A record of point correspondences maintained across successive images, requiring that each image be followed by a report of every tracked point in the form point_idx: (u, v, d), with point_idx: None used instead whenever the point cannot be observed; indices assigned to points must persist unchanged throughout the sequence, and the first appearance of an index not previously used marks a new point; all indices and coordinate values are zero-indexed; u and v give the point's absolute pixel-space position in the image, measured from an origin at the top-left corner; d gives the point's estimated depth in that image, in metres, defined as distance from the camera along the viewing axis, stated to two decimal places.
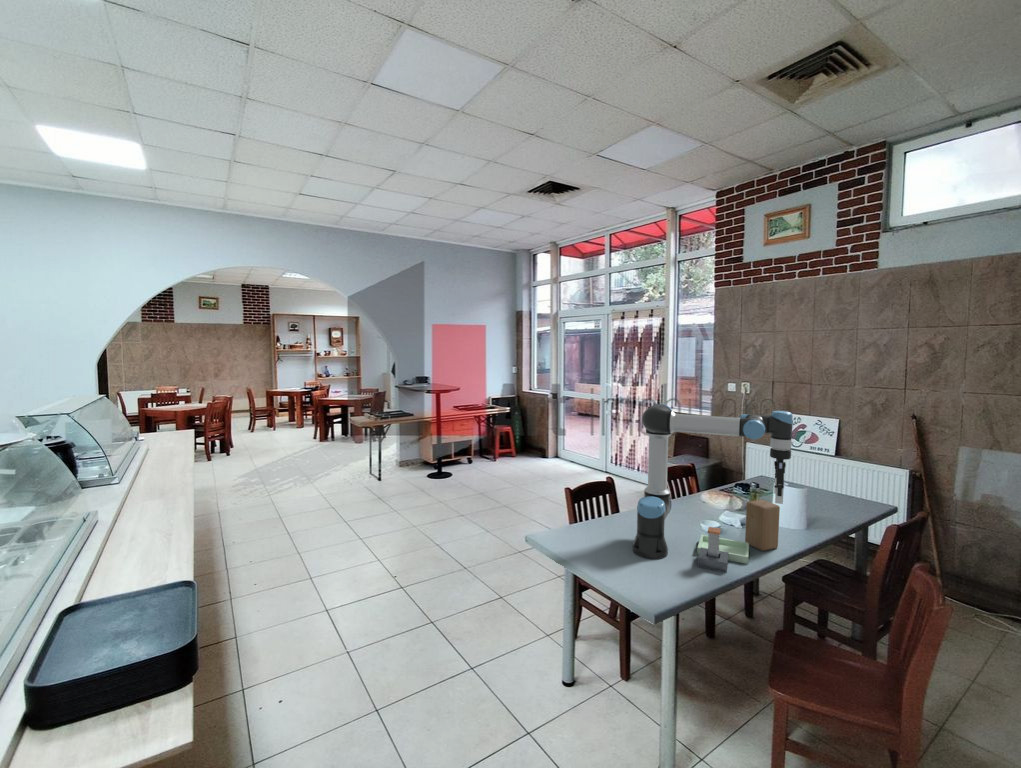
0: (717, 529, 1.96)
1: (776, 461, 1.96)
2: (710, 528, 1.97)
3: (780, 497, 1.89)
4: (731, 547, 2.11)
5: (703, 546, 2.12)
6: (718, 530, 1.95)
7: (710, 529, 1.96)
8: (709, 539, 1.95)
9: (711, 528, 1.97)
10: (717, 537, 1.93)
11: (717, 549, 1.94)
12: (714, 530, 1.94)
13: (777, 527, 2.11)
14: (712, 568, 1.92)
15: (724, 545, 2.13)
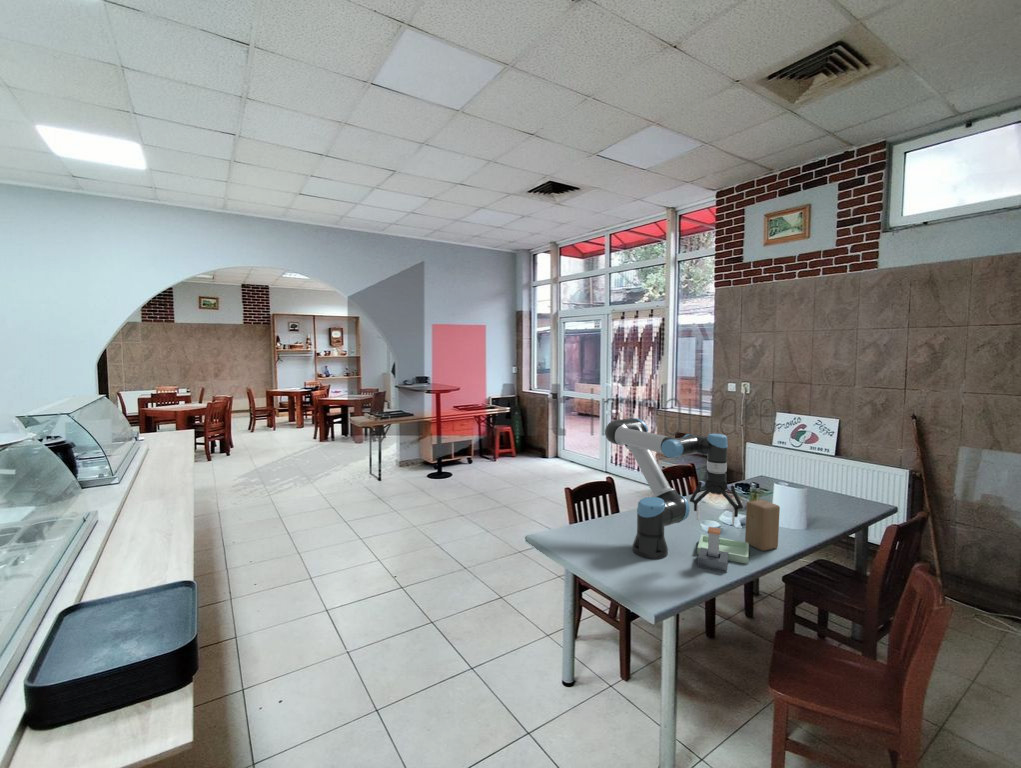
0: (717, 529, 1.96)
1: None
2: (710, 528, 1.97)
3: None
4: (731, 547, 2.11)
5: (703, 546, 2.12)
6: (718, 530, 1.95)
7: (710, 529, 1.96)
8: (709, 539, 1.95)
9: (711, 528, 1.97)
10: (717, 537, 1.93)
11: (717, 549, 1.94)
12: (714, 530, 1.94)
13: (777, 527, 2.11)
14: (712, 568, 1.92)
15: (724, 545, 2.13)
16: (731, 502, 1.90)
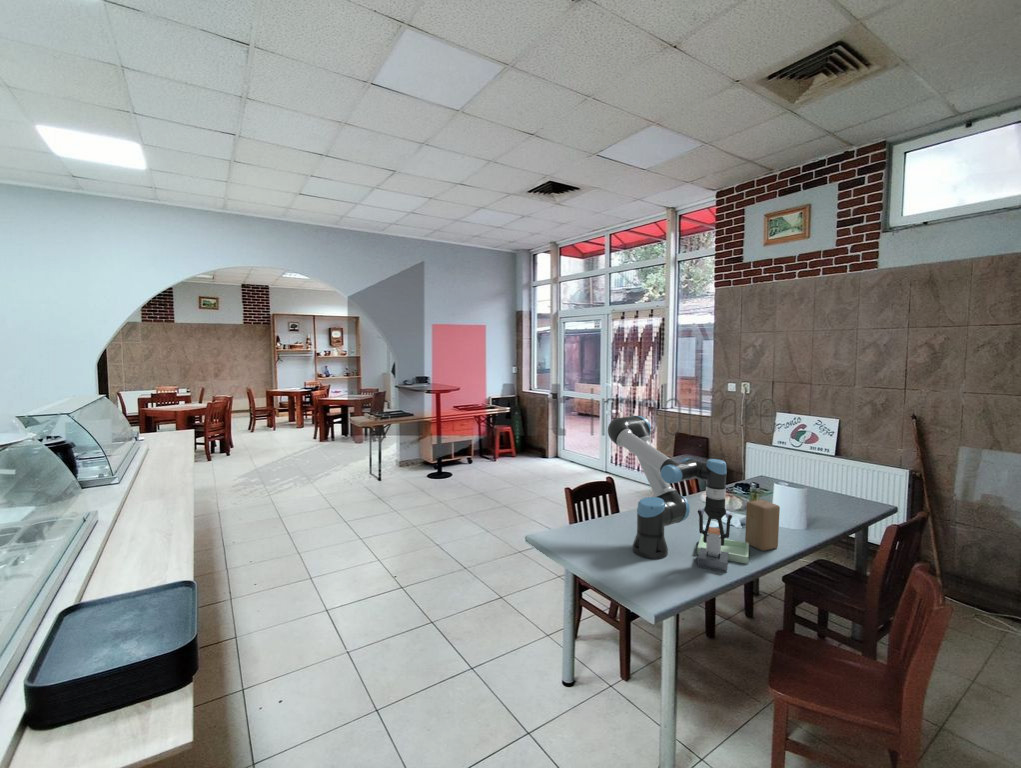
0: (717, 529, 1.96)
1: None
2: (710, 528, 1.97)
3: None
4: (731, 547, 2.11)
5: (703, 546, 2.12)
6: (718, 530, 1.95)
7: (710, 529, 1.96)
8: (709, 539, 1.95)
9: (711, 528, 1.97)
10: (717, 537, 1.93)
11: (717, 549, 1.94)
12: (714, 530, 1.94)
13: (777, 527, 2.11)
14: (712, 568, 1.92)
15: (724, 545, 2.13)
16: (721, 530, 1.93)
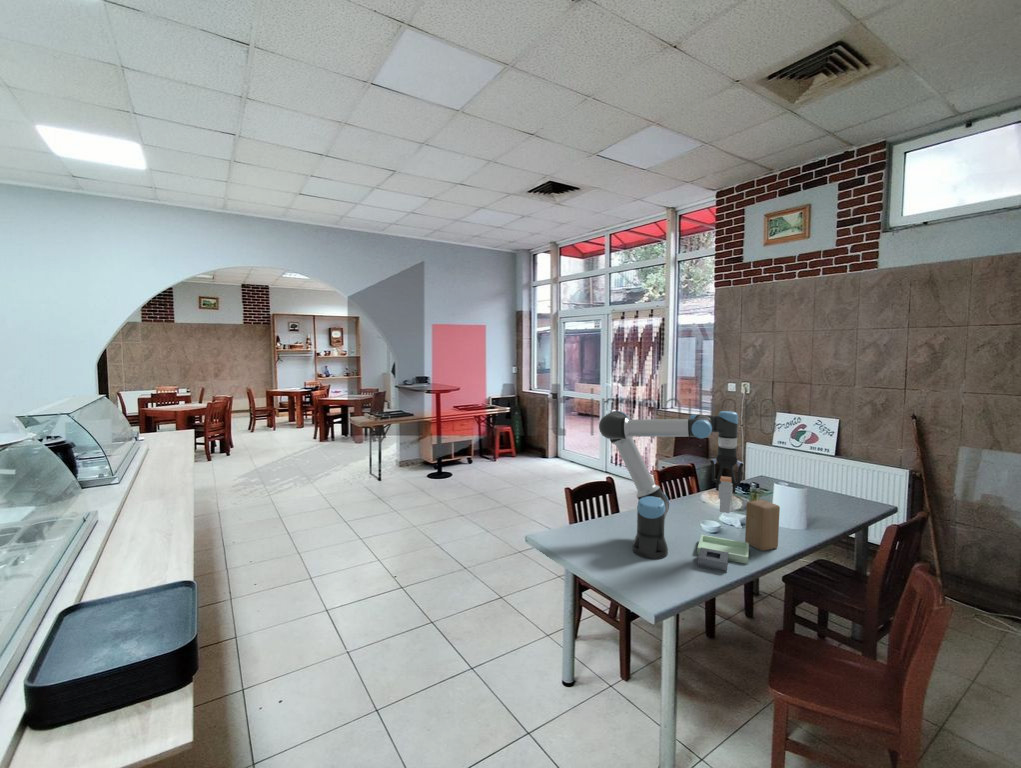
0: (729, 477, 2.06)
1: None
2: (722, 477, 2.07)
3: None
4: (731, 547, 2.11)
5: (703, 546, 2.12)
6: (730, 478, 2.05)
7: (722, 477, 2.06)
8: (721, 487, 2.05)
9: (723, 477, 2.07)
10: (729, 484, 2.03)
11: (729, 496, 2.04)
12: (725, 478, 2.05)
13: (777, 527, 2.11)
14: (712, 568, 1.92)
15: (724, 545, 2.13)
16: (732, 478, 2.03)
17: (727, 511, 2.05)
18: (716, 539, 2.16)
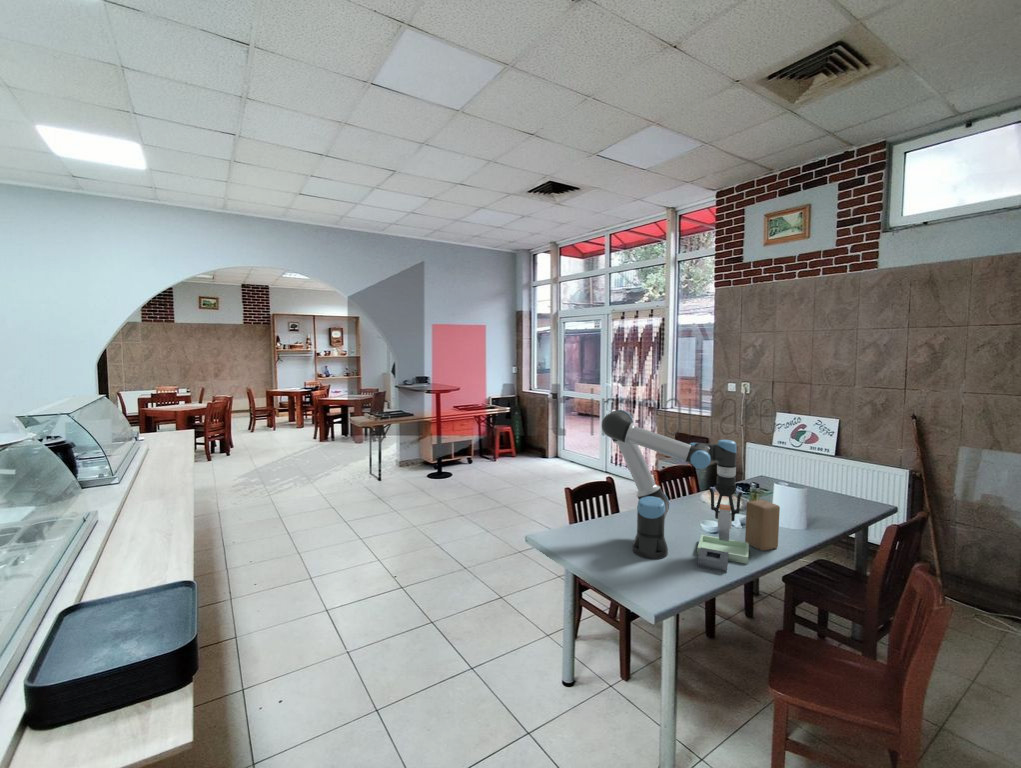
0: (728, 506, 2.07)
1: None
2: (721, 505, 2.08)
3: None
4: (731, 547, 2.11)
5: (703, 546, 2.12)
6: (729, 506, 2.06)
7: (721, 506, 2.07)
8: (720, 515, 2.06)
9: (722, 505, 2.08)
10: (728, 513, 2.05)
11: (728, 524, 2.05)
12: (725, 507, 2.06)
13: (777, 527, 2.11)
14: (712, 568, 1.92)
15: (724, 545, 2.13)
16: (732, 506, 2.04)
17: (726, 539, 2.06)
18: (716, 539, 2.16)
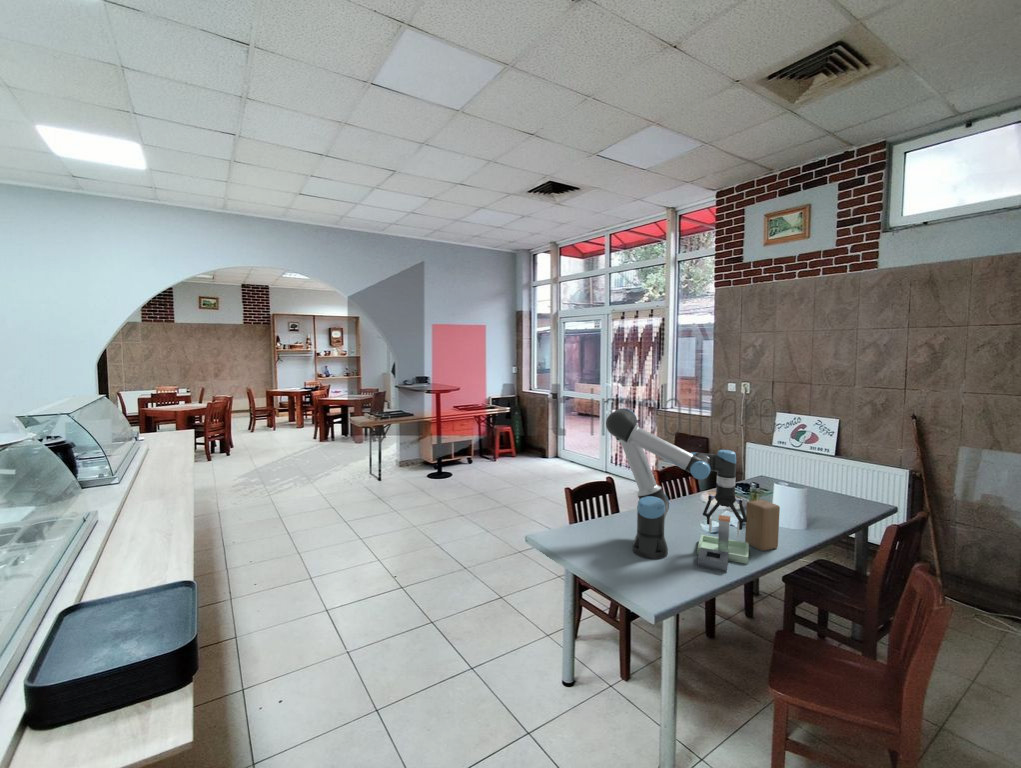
0: (727, 517, 2.07)
1: None
2: (720, 516, 2.09)
3: None
4: (731, 547, 2.11)
5: (703, 546, 2.12)
6: (728, 518, 2.06)
7: (720, 517, 2.07)
8: (719, 526, 2.07)
9: (721, 516, 2.08)
10: (727, 524, 2.05)
11: (727, 535, 2.05)
12: (724, 518, 2.06)
13: (777, 527, 2.11)
14: (712, 568, 1.92)
15: None
16: (737, 515, 2.04)
17: (725, 550, 2.06)
18: (716, 539, 2.16)
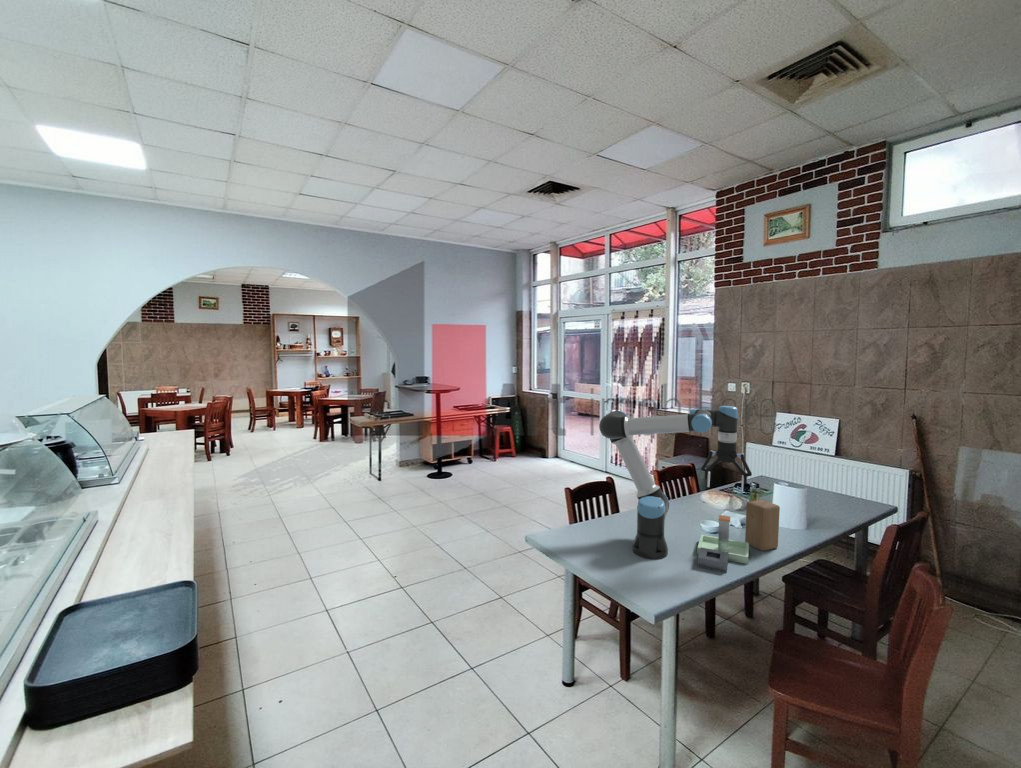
0: (727, 517, 2.07)
1: None
2: (720, 516, 2.09)
3: None
4: (731, 547, 2.11)
5: (703, 546, 2.12)
6: (728, 518, 2.06)
7: (720, 517, 2.07)
8: (719, 526, 2.07)
9: (721, 516, 2.08)
10: (727, 524, 2.05)
11: (727, 535, 2.05)
12: (724, 518, 2.06)
13: (777, 527, 2.11)
14: (712, 568, 1.92)
15: None
16: (740, 470, 2.02)
17: (725, 550, 2.06)
18: (716, 539, 2.16)
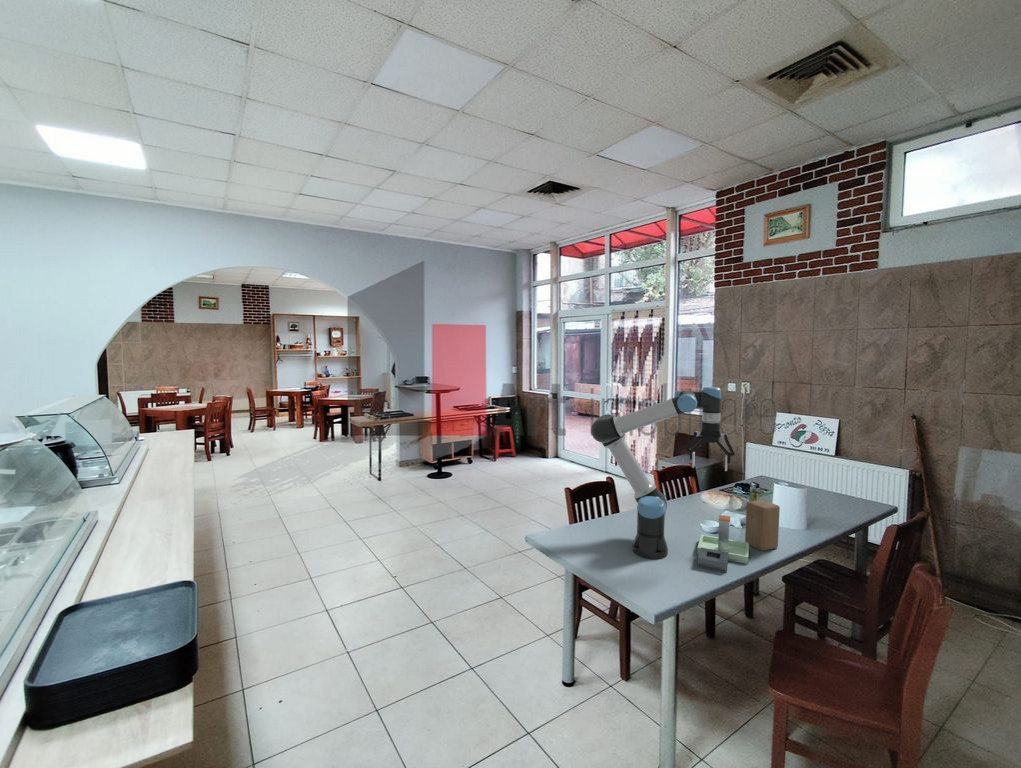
0: (727, 517, 2.07)
1: None
2: (720, 516, 2.09)
3: (692, 461, 2.12)
4: (731, 547, 2.11)
5: (703, 546, 2.12)
6: (728, 518, 2.06)
7: (720, 517, 2.07)
8: (719, 526, 2.07)
9: (721, 516, 2.08)
10: (727, 524, 2.05)
11: (727, 535, 2.05)
12: (724, 518, 2.06)
13: (777, 527, 2.11)
14: (712, 568, 1.92)
15: None
16: (724, 449, 2.05)
17: (725, 550, 2.06)
18: (716, 539, 2.16)
